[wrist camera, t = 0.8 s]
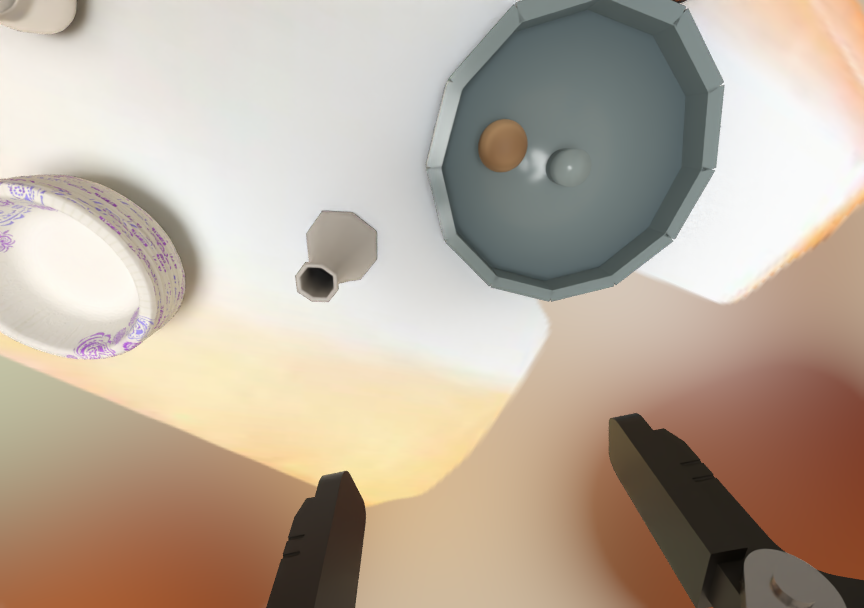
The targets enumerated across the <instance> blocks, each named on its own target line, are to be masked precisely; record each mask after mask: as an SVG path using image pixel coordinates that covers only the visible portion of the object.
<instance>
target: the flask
mask: <svg viewBox="0 0 864 608" xmlns="http://www.w3.org/2000/svg"><path fill="white" fill-rule="evenodd" d="M306 238H307V248H308V258H309V262H305V263H304V265H303V266H302V267H301V269H300V270H299V272H298V273H297V274H296V276H295V278H296V286H297V292H298V293H300V294H301V295H303V296H304V297H306V298H307V299H309V300H310V301H314V302H329V301H330V300H331V298H332V297H333V296H334V295H335V293H336V292H337V291H338V289H339V287H338V284H339V283H344V282H348V281H355V280H361V278H362V277H363V276H364V275H365V273H366V272H367V271H368V270H369V268H370V267H371V266H372V265H373V264H374V262H375V261H376V260H377V231H375V230H374V229H373V228H372V227H370V226H369V225H368V224H366V223H365V222H364V221H363V220H361V219H360V218H359V217H357V216H356V215H355V214H354V213H352V212H332V211H322V212H321V213H320V215H319V216H318V218H317V219H316V220H315V222H314V223H313V225H312V226H311V228H310V229H309V230H308V232H307V233H306Z"/></svg>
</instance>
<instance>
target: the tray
mask: <svg viewBox="0 0 864 608" xmlns="http://www.w3.org/2000/svg"><path fill="white" fill-rule="evenodd" d="M685 7H686V6H684V5H681V4H679V3H677V2H674V1H672V0H522V1H519V2H516V4H515V5H514V4H513V6H512V7H511V8H510V9H509V10H508V11H507V12H506V14H505V15H504V16H503V17H502V18H501V19H500V20H499V22H498V23H497V24H496V25H495V26H494V27H493V28H492V30H491V31H490V32H489V33H488V34H487V35H486V36H485V38H484V39H483V40H482V41H481V42H480V43H479V44H478V46H477V47H476V48H475V49H474V50H473V51H472V52H471V54H470V55H469V56H468V57H467V58H466V59H465V60H464V62H463V63H462V64H461V65H460V66H459V67H458V68H457V70H456V71H455V72H454V73H453V74H452V75H451V76H450V78H449V79H448V81H447V83H446V85H445V89H444V93H443V97H442V101H441V105H440V109H439V113H438V117H437V121H436V124H435V127H434V133H433V137H432V141H431V145H430V149H429V153H428V157H427V161H426V166H427V167H426V170H427V174H428V178H429V182H430V186H431V190H432V194H433V198H434V202H435V206H436V210H437V214H438V218H439V222H440V226H441V230H442V234H443V238H444V240H445V242H446V243H447V244H448V245H449V246H450V247H451V248H452V249H453V250H454V251H455V252H456V253H457V254H458V255H459V256H460V257H461V258H462V259H463V260H464V261H465V262H466V263H467V264H468V265H469V266H470V267H471V268H472V269H473V271H474V272H475V273H476V274H477V275H478V276H479V277H480V278H481V279H482V280H483V281H484V282H485V283H486V284H487V285H488V286H491V287H492V288H496V289H500V290H504V291H508V292H512V293H516V294H520V295H524V296H528V297H532V298H536V299H541V300H545V301H550V300H551V301H556V300H560V299H564V298H568V297H572V296H576V295H580V294H584V293H588V292H592V291H597V290H601V289H604V288H609V287H613V286H614V284H615V285H617V284H618V283H619V282H621V281H622V280H623V279H624V278H626V277H627V276H629V275H630V274H631V273H632V272H634V271H635V270H636V269H638V268H639V267H640V266H642V265H643V264H644V263H646V262H647V261H648V260H649V259H651V258H652V257H653V256H655V255H656V254H657V253H659V252H660V251H661V250H662V249H664V248H665V247H666V246H668V245H669V244H670V243H672V242H673V240H672V239H675V238H676V237H677V235H678V233H679V231H680V230H681V228H682V226H683V225H684V223H685V221H686V219H687V218H688V216H689V214H690V213H691V211H692V209H693V208H694V206H695V204H696V202H697V201H698V199H699V197H700V196H701V194H702V192H703V190H704V189H705V187H706V185H707V184H708V182H709V180H710V178H711V177H712V175H713V173H714V172H715V170H712V169H714V168H716V163H717V153H718V143H719V134H720V124H721V114H722V104H723V94H724V85H722V86H720V85H721V84H722V83H723V82H724V81H723V79H722V77H721V75H720V73H719V71H718V69H717V67H716V65H715V63H714V61H713V59H712V56H711V54H710V52H709V50H708V48H707V46H706V44H705V42H704V40H703V38H702V36H701V34H700V32H699V30H698V28H697V26H696V24H695V22H694V20H693V18H692V15H691V13H690V11H689V9H686V10H685ZM501 119H509V120H513V121H515V122H517V123H518V124H519V125H520V126H521V127H522V128H523V129H524V131H525V133H526V136H527V142H528V145H527V151H526V154H525V157H524V158H523V160H522V161H521V163H520V164H519V165H518V166H517V167H515V168H514V169H512V170H510V171H507V172H494V171H492V170H490V169H488V168H487V167H486V166H485V165H484V164H483V163H482V161H481V159H480V157H479V152H478V144H479V139H480V136H481V134H482V133H483V131H484V130H485V128H486V127H487V126H488V125H490V124H491V123H493V122H495V121H497V120H501ZM671 238H672V239H671Z"/></svg>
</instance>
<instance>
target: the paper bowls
mask: <svg viewBox="0 0 864 608" xmlns="http://www.w3.org/2000/svg"><path fill="white" fill-rule="evenodd" d="M185 288H186V285H185V272H184V270H183V266H182V263H181V260H180V257H179V255H178V253H177V251H176V249H175V246H174V245H173V243H172V241H171V240H170V238H169V237H168V235H167V234H166V233H165V231H164V230H163V229H162V227H161V226H160V225H159V224H158V223H157V222H156V221H155V220H154V219H153V218H152V217H151V216H150V215H149V214H148V213H147V212H146V211H144V210H143V209H142V208H140V207H139V206H138V205H136V204H135V203H134V202H132V201H131V200H129V199H128V198H126V197H124V196H123V195H121V194H119V193H118V192H116V191H114V190H112V189H110V188H108V187H106V186H103V185H101V184H98V183H95V182H93V181H89V180H86V179H82V178H78V177H73V176H67V175H33V176H21V177H13V178H8V179H0V332H1V333H3V334H5V335H6V336H8V337H10V338H12V339H13V340H15V341H17V342H20V343H22V344H24V345H27V346H29V347H31V348H34V349H37V350H40V351H43V352H46V353H49V354H52V355H57V356H61V357H67V358H74V359H102V358H108V357H113V356H117V355H121V354H123V353H126V352H128V351H130V350H132V349H133V348H135V347H137V346H138V345H139V344H141V342H143V341H144V340H145V339H147V338H148V337H149V336H151V335H152V334H153V333H154V332H156V331H157V330H158V329H160V328H161V327H162V326H163V325H165V324H166V323H167V322H168V321H169V320H170V319H171V318H172V317H173V316H174V314H175V313H176V312H177V310H178V309H179V307H180V306H181V304H182V300H183V298H184V294H185Z"/></svg>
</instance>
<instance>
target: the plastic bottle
mask: <svg viewBox="0 0 864 608" xmlns="http://www.w3.org/2000/svg"><path fill="white" fill-rule="evenodd" d="M76 10H77V0H0V24H1V25H4V26H6V27H9V28H12V29H14V30H17V31H21V32H27V33H37V34H55V33H58V32H61V31H63V30H64V29H65V28H67V27H68V26H69V24H70V23H71V22H72V20H73V19H74V17H75V14H76Z"/></svg>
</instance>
